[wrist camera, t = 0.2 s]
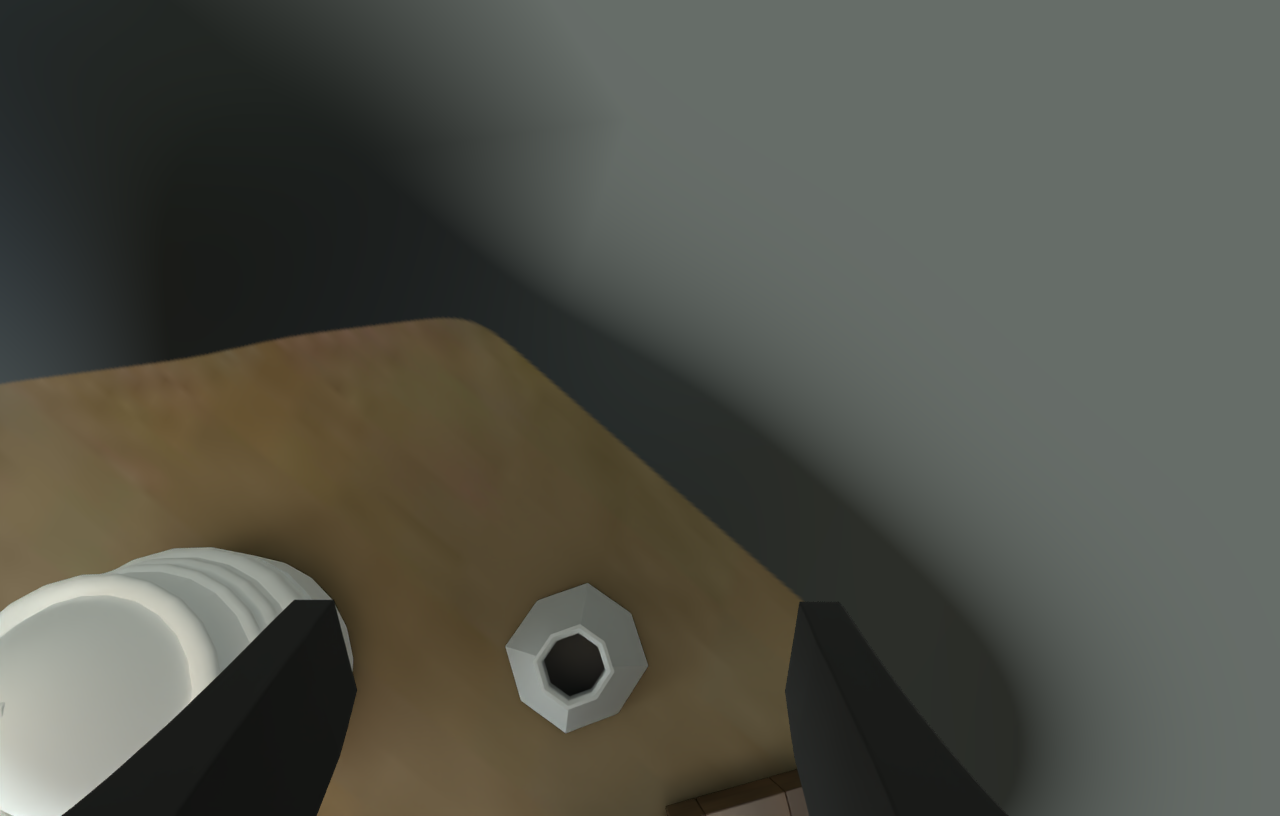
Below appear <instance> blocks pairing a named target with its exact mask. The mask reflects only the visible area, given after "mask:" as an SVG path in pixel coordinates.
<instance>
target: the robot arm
mask: <svg viewBox="0 0 1280 816" xmlns="http://www.w3.org/2000/svg"><path fill="white" fill-rule="evenodd" d="M356 692H357V688H356V684H355V680H354V676H353V672H352V669H351V665H350V661H349V657H348V653H347V649H346V645H345V641H344V637H343V634H342V630H341V626H340V622H339V618H338V614H337V610H336V606H335V602H334V600H293V601H292V602H291V603H290V604H289V605H288V606H287V607H286V608H285V609H284V610H283V611H282V612H281V613H280V614H279V615H278V616H277V617H276V618H275V619H274V620H273V621H272V622H271V623H270V624H269V625H268V626H267V627H266V628H265V629H264V630H263V631H262V632H261V633H260V634H259V635H258V636H257V637H256V638H255V639H254V640H253V641H252V642H251V643H250V644H249V645H248V646H247V647H246V648H245V649H244V650H243V651H242V652H241V653H240V654H239V655H238V656H237V657H236V658H235V659H234V660H233V661H232V662H231V663H230V664H229V665H228V666H227V667H226V668H225V669H224V670H223V671H222V672H221V673H220V674H219V675H218V676H217V677H216V678H215V679H214V680H213V681H212V682H211V683H210V684H209V685H208V686H207V687H206V688H205V689H204V690H203V691H202V692H201V693H200V694H198V695H197V696H196V697H195V698H194V699H193V700H192V701H191V702H190V703H189V704H188V705H187V706H186V707H185V708H184V709H183V710H182V711H181V712H180V713H179V714H178V715H177V716H176V717H175V718H174V719H172V720H171V721H170V722H169V723H168V724H167V725H166V726H165V727H164V728H163V729H162V730H160V731H159V732H158V733H157V734H156V735H155V736H154V737H153V738H152V739H150V740H149V741H148V742H147V743H146V744H145V745H144V746H143V747H142V748H140V749H139V750H138V751H137V752H136V753H135V754H134V755H133V756H132V757H130V758H129V759H128V760H127V761H126V762H125V763H124V764H123V765H122V766H120V767H119V768H118V769H117V770H116V771H115V772H114V773H112V774H111V775H110V776H109V777H108V778H107V779H105V780H104V781H103V782H102V783H101V784H99V785H98V786H97V787H96V788H95V789H94V790H92V791H91V792H90V793H89V794H88V795H86V796H85V797H84V798H83V799H82V800H80V801H79V802H78V803H77V804H75V805H74V806H73V807H72V808H70V809H69V810H68V811H67V812H65V813H64V814H63V815H62V816H317V813H318V811H319V808H320V806H321V803H322V801H323V798H324V795H325V793H326V790H327V788H328V785H329V783H330V780H331V777H332V775H333V772H334V770H335V767H336V764H337V762H338V759H339V756H340V753H341V750H342V746H343V742H344V739H345V735H346V732H347V728H348V724H349V720H350V716H351V712H352V708H353V704H354V700H355V696H356ZM785 694H786V701H787V709H788V716H789V724H790V731H791V737H792V744H793V751H794V757H795V761H796V765H797V769H798V773H799V777H800V781H801V785H802V789H803V793H804V797H805V801H806V805H807V809H808V813H809V816H1008V815H1007V814H1006V813H1005V812H1004V810H1002V808H1001V807H1000V806H999V805H998V804H997V803H996V802H995V801H994V800H993V799H992V798H991V796H990V795H989V794H988V793H987V792H986V791H985V790H984V789H983V788H982V787H981V786H980V784H979V783H978V782H977V781H976V780H975V779H974V778H973V776H972V775H971V774H970V773H969V772H968V771H967V769H966V768H965V767H964V766H963V765H962V764H961V763H960V761H959V760H958V759H957V758H956V757H955V756H954V755H953V753H952V752H951V751H950V750H949V749H948V747H947V746H946V745H945V744H944V742H943V741H942V740H941V739H940V738H939V736H938V735H937V734H936V733H935V731H934V730H933V729H932V728H931V727H930V725H929V724H928V723H927V721H926V720H925V719H924V718H923V716H922V715H921V714H920V712H919V711H918V710H917V709H916V707H915V706H914V705H913V703H912V702H911V701H910V700H909V698H908V697H907V696H906V694H905V693H904V692H903V691H902V689H901V688H900V686H899V685H898V684H897V683H896V681H895V680H894V678H893V677H892V676H891V674H890V673H889V672H888V670H887V669H886V667H885V666H884V665H883V663H882V662H881V660H880V659H879V658H878V656H877V655H876V654H875V652H874V651H873V649H872V648H871V646H870V645H869V643H868V642H867V640H866V639H865V638H864V636H863V635H862V633H861V632H860V630H859V629H858V627H857V626H856V624H855V623H854V621H853V620H852V618H851V617H850V615H849V614H848V612H847V611H846V609H845V608H844V607H843V606H842V605H841V604H840V603H839V602H800V603H799V609H798V615H797V621H796V627H795V634H794V640H793V646H792V652H791V658H790V664H789V671H788V677H787V683H786V689H785Z"/></svg>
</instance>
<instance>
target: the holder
mask: <svg viewBox="0 0 1280 816" xmlns="http://www.w3.org/2000/svg"><path fill="white" fill-rule="evenodd" d="M666 811H667V816H809V813H808V809H807V805H806V801H805V797H804V793H803V789H802V785H801V781H800V777H799V773H798V769H796V770H793V771H789V772H786V773H782V774H778V775H775V776H771V777H769V778H765V779H761V780H758V781H754V782H750V783H747V784H743V785H740V786H736V787H733V788H729V789H726V790H722V791H718V792H715V793H711V794H708V795H704V796H701V797H697V798H696V799H695V798H693V799H690V800H686V801H683V802H679V803H676V804H672V805H669V806H666Z"/></svg>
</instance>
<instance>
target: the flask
mask: <svg viewBox="0 0 1280 816" xmlns="http://www.w3.org/2000/svg"><path fill="white" fill-rule="evenodd" d="M505 647H506V650H507V654H508V657H509V661H510V664H511V668H512V671H513V675H514V678H515V682H516V685H517V689H518V692H519V696H520V699H521V701H522V702H524V703H525V704H526V705H528V706H529V707H530V708H532V709H533V710H535V711H536V712H537V713H539V714H540V715H541V716H543V717H544V718H546V719H547V720H548V721H550V722H551V723H552V724H554V725H555V726H556V727H558V728H559V729H561V730H562V731H563V732H565V733H568V732H570V731H573V730H576V729H578V728H581V727H583V726H586V725H589V724H591V723H594V722H597V721H599V720H602V719H605V718H607V717H610V716H613V715H615V714H618V713H619V711H620V709H621V708H622V706H623V705H624V703H625V702H626V700H627V698H628V697H629V695H630V694H631V692H632V691H633V689H634V687H635V686H636V684H637V683H638V681H639V680H640V678H641V676H642V675H643V673H644V672H645V670H646V669H647V667H648V663H647V660H646V657H645V654H644V651H643V648H642V645H641V642H640V639H639V636H638V633H637V630H636V627H635V624H634V621H633V618H632V615H631V613H630V612H628V611H627V610H626V609H624V608H623V607H621V606H620V605H618V604H617V603H616V602H614V601H613V600H611V599H610V598H608V597H607V596H606V595H604V594H603V593H601V592H600V591H599V590H597V589H596V588H594V587H593V586H591V585H590V584H589V583H586V584H583V585H580V586H577V587H575V588H572V589H569V590H566V591H563V592H560V593H557V594H554V595H552V596H549V597H546V598H543V599H540V600H537V602H536V603H535V605H534V606H533V607H532V609H531V610H530V612H529V613H528V615H527V616H526V617H525V619H524V620H523V622H522V623H521V625H520V626H519V628H518V629H517V630H516V632H515V633H514V635H513V636H512V638H511V639H510V640H509V642H508V643H507V645H506V646H505Z"/></svg>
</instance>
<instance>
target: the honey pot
mask: <svg viewBox="0 0 1280 816" xmlns="http://www.w3.org/2000/svg"><path fill="white" fill-rule="evenodd" d="M293 600H332V599H331V598H330V597H329V596H328V594H327V593H326V592H325V591H324V590H323V589H322V588H321V587H320V586H319V585H318V584H317V583H316V582H315V581H314V580H313V579H312V578H311V577H309V576H307V575H306V574H304V573H302V572H300V571H299V570H297V569H295V568H293V567H291V566H290V565H288V564H286V563H283V562H279V561H275V560H271V559H267V558H262V557H258V556H254V555H249V554H244V553H239V552H234V551H229V550H223V549H218V548H214V547H205V548H175V549H171V550H167V551H163V552H160V553H156V554H152V555H149V556H145V557H142V558H138V559H135V560H132V561H130V562H128V563H126V564H125V565H123V566H121V567H119V568H117V569H115V570H113V571H110V572H107V573H103V574H89V575H80V576H76V577H72V578H69V579H65V580H62V581H58V582H55V583H51V584H48V585H44V586H42V587H40V588H39V589H37V590H35V591H33V592H31V593H29V594H28V595H26V596H24V597H22V598H20V599H18V600H17V601H15V602H13V603H11V604H9V605H8V606H7V607H6V608H5V609H4V610H3V611H1V612H0V816H11V815H13V816H62V815H63V814H64V813H65V812H67V811H68V810H69V809H70V808H72V807H73V806H74V805H75V804H77V803H78V802H79V801H80V800H82V799H83V798H84V797H85V796H86V795H88V794H89V793H90V792H91V791H92V790H94V789H95V788H96V787H97V786H98V785H99V784H101V783H102V782H103V781H104V780H105V779H107V778H108V777H109V776H110V775H111V774H112V773H114V772H115V771H116V770H117V769H118V768H119V767H120V766H122V765H123V764H124V763H125V762H126V761H127V760H128V759H129V758H130V757H132V756H133V755H134V754H135V753H136V752H137V751H138V750H139V749H140V748H142V747H143V746H144V745H145V744H146V743H147V742H148V741H149V740H150V739H152V738H153V737H154V736H155V735H156V734H157V733H158V732H159V731H160V730H162V729H163V728H164V727H165V726H166V725H167V724H168V723H169V722H170V721H171V720H172V719H174V718H175V717H176V716H177V715H178V714H179V713H180V712H181V711H182V710H183V709H184V708H185V707H186V706H187V705H188V704H189V703H190V702H191V701H192V700H193V699H194V698H195V697H196V696H197V695H198V694H200V693H201V692H202V691H203V690H204V689H205V688H206V687H207V686H208V685H209V684H210V683H211V682H212V681H213V680H214V679H215V678H216V677H217V676H218V675H219V674H220V673H221V672H222V671H223V670H224V669H225V668H226V667H227V666H228V665H229V664H230V663H231V662H232V661H233V660H234V659H235V658H236V657H237V656H238V655H239V654H240V653H241V652H242V651H243V650H244V649H245V648H246V647H247V646H248V645H249V644H250V643H251V642H252V641H253V640H254V639H255V638H256V637H257V636H258V635H259V634H260V633H261V632H262V631H263V630H264V629H265V628H266V627H267V626H268V625H269V624H270V623H271V622H272V621H273V620H274V619H275V618H276V617H277V616H278V615H279V614H280V613H281V612H282V611H283V610H284V609H285V608H286V607H287V606H288V605H289V604H290V603H291V602H292V601H293ZM335 606H336V605H335ZM336 610H337V614H338V618H339V622H340V626H341V630H342V634H343V637H344V641H345V645H346V649H347V653H348V657H349V661H350V665H351V669H352V672H353V655H352V650H351V645H350V641H349V636H348V631H347V627H346V625H345V623H344V621H343V619H342V617H341V615H340V613H339V611H338V609H337V607H336ZM10 814H11V815H10Z"/></svg>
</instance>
